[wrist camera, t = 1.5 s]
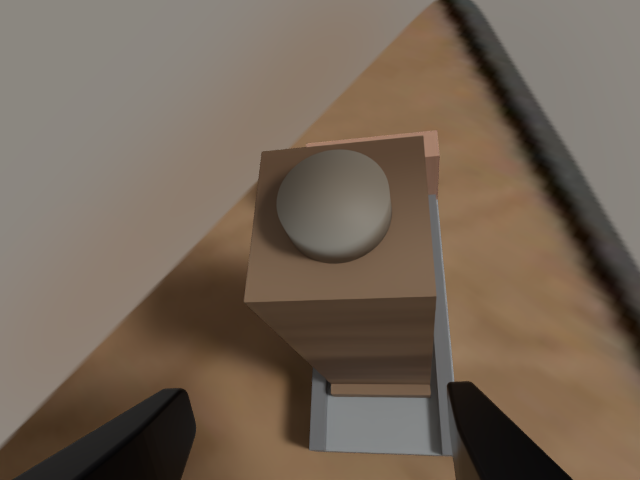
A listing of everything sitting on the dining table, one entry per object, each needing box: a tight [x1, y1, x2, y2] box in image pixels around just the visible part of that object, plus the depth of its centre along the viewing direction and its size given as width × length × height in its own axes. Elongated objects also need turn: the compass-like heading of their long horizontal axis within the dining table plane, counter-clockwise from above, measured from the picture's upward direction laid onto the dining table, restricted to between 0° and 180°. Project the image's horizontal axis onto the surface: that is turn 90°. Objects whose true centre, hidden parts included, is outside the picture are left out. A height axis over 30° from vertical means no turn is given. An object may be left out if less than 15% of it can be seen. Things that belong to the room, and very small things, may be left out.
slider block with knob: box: [244, 136, 437, 398], centre depth 15 cm, size 5×4×12 cm
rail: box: [306, 130, 454, 456], centre depth 20 cm, size 13×6×5 cm, turn 178°
